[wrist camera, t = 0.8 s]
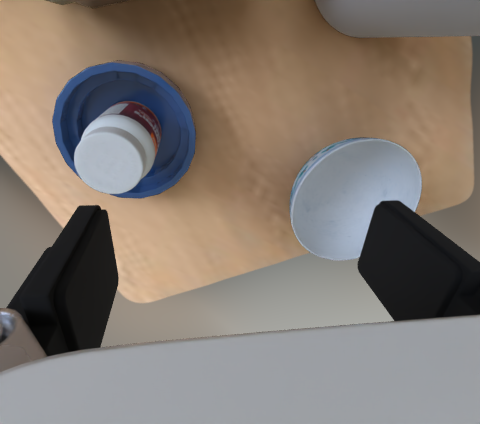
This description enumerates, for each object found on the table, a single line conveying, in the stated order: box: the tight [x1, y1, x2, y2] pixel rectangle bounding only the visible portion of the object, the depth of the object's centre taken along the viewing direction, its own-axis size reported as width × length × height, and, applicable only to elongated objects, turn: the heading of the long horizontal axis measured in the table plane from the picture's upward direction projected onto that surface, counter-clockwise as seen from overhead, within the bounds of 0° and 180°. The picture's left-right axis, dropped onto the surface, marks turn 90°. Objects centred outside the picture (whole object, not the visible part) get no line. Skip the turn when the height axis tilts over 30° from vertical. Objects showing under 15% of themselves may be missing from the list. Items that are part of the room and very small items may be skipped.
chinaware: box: [290, 138, 422, 260], centre depth 37 cm, size 15×15×8 cm
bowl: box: [52, 60, 196, 198], centre depth 32 cm, size 13×13×4 cm
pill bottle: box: [74, 101, 161, 194], centre depth 29 cm, size 6×6×11 cm
